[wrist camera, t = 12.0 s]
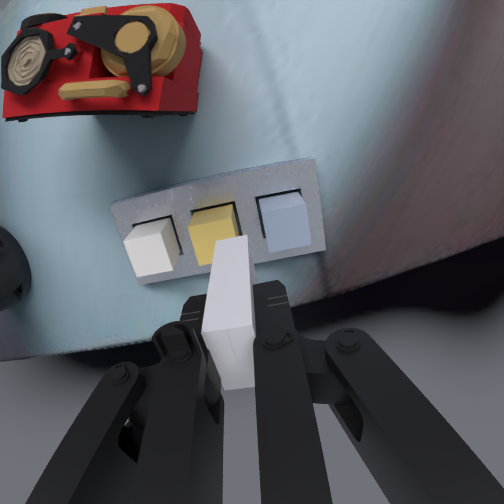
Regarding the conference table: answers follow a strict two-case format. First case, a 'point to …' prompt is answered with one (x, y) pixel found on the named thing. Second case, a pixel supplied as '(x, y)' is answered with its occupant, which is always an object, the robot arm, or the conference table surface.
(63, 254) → the conference table surface
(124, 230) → the key panel
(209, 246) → the mustard key
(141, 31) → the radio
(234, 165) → the conference table surface
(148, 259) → the ivory key
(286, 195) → the slate key
